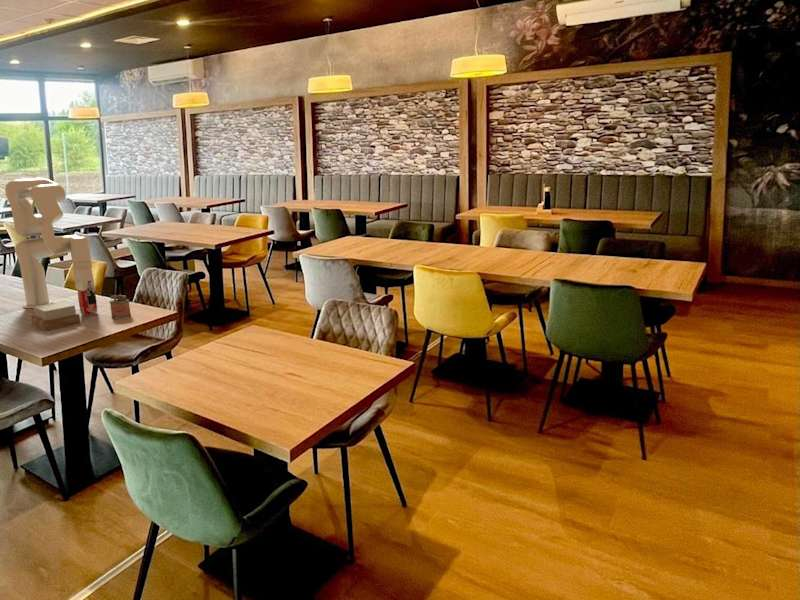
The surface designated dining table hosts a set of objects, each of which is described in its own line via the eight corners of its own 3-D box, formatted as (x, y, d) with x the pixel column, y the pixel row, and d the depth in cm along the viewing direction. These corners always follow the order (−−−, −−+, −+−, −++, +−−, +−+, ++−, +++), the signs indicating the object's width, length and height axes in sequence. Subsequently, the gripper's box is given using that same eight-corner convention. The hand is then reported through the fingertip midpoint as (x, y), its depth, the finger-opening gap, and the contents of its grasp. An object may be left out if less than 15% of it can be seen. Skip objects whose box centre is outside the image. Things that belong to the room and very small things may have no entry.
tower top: (34, 315, 270) (33, 306, 269) (64, 310, 279) (62, 301, 278) (46, 320, 262) (44, 311, 261) (75, 314, 271) (74, 305, 270)
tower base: (32, 325, 271) (31, 316, 270) (66, 317, 281) (65, 309, 280) (46, 331, 262) (44, 321, 261) (80, 323, 272) (79, 314, 271)
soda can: (101, 312, 289) (97, 286, 286) (92, 316, 282) (88, 290, 280) (86, 312, 290) (82, 286, 287) (77, 316, 283) (73, 290, 280)
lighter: (131, 315, 284) (129, 293, 281) (130, 317, 280) (127, 295, 278) (112, 316, 282) (109, 294, 279) (111, 318, 279) (108, 296, 276)
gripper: (65, 263, 283) (71, 301, 288) (82, 268, 272) (87, 306, 277) (82, 261, 289) (87, 297, 293) (99, 265, 278) (105, 303, 282)
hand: (87, 302), depth 285 cm, fingers open, 9 cm apart
